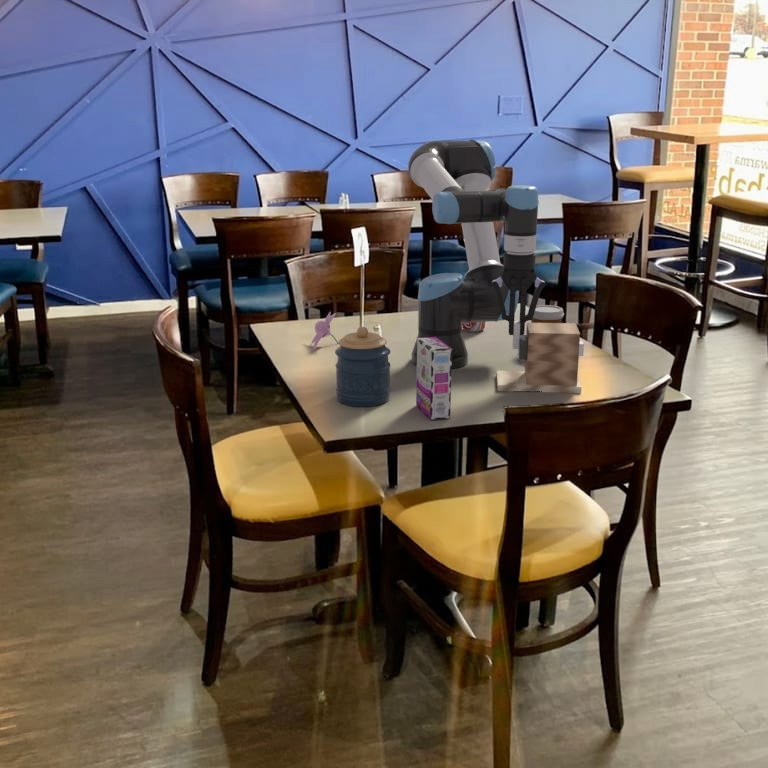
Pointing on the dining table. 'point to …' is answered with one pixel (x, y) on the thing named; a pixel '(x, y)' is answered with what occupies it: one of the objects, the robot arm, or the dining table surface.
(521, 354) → the shaft
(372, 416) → the dining table surface
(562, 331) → the block
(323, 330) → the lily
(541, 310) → the disposable coffee cup
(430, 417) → the candy bar box
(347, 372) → the canister
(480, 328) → the soda can
